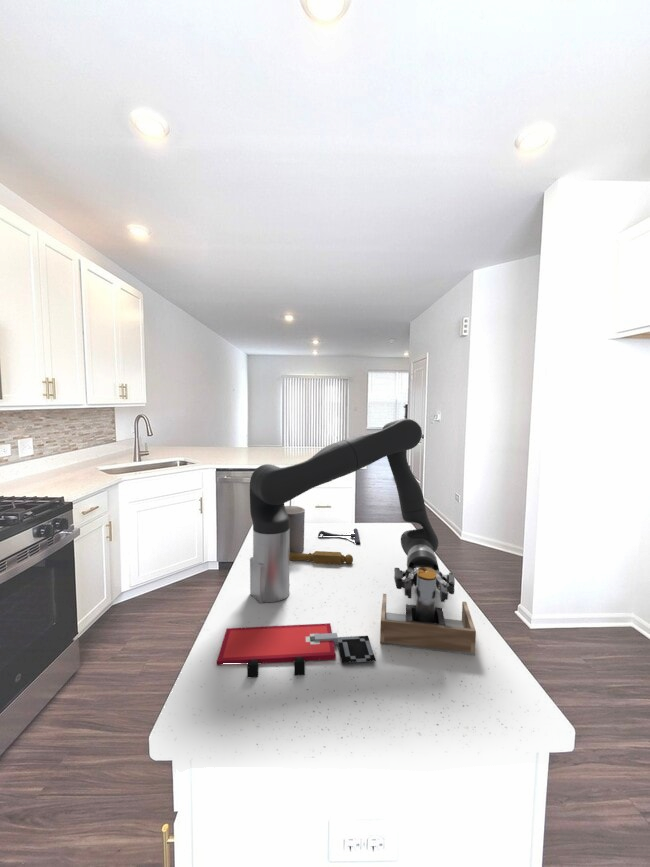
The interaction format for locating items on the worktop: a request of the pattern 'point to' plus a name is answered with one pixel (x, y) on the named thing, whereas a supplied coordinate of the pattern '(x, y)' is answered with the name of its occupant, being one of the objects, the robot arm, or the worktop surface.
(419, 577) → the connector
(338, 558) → the tap handle
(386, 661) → the worktop surface
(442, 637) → the socket box
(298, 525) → the pillar candle
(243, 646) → the red board with handle
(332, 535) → the bracket
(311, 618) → the worktop surface
